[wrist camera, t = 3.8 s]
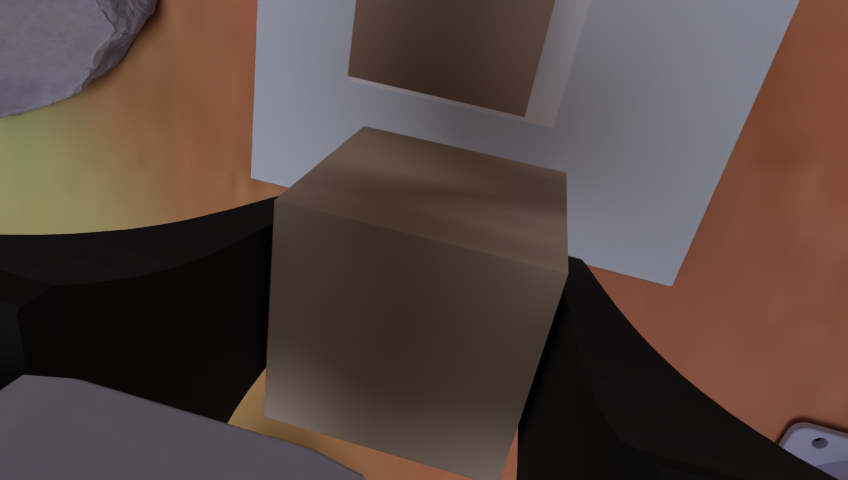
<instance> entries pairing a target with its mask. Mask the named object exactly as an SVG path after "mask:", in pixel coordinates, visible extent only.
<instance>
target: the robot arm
mask: <svg viewBox="0 0 848 480" xmlns="http://www.w3.org/2000/svg"><path fill="white" fill-rule="evenodd" d="M278 197H279V196H276V197H273V198H269V199H266V200H262V201H259V202H255V203H251V204H248V205H244V206H241V207H237V208H234V209H230V210H226V211H222V212H218V213H213V214H209V215H205V216H201V217H197V218H193V219H189V220H184V221H179V222H173V223H168V224H162V225H156V226H149V227H142V228H135V229H127V230H115V231H102V232H90V233H77V234H51V235H0V480H366V479H365V478H364V476H363V475H362V474H360V473H358V472H356V471H354V470H352V469H350V468H348V467H346V466H344V465H342V464H340V463H339V462H337V461H335V460H333V459H331V458H329V457H327V456H325V455H323V454H321V453H319V452H317V451H315V450H313V449H310V448H307V447H303V446H300V445H297V444H293V443H290V442H287V441H283V440H280V439H277V438H273V437H270V436H267V435H263V434H260V433H257V432H253V431H250V430H247V429H243V428H240V427H237V426H233V425H230V424H227V423H228V421H229V419H230V418H231V416H232V414H233V413H234V411H235V409H236V408H237V406H238V405H239V403H240V402H241V400H242V399H243V398H244V396H245V395H246V393H247V392H248V390H249V389H250V388H251V386H252V385H253V384H254V382H255V381H256V380H257V378H258V377H259V376H260V374H261V373H262V372H263V371H264V369H265V368H266V361H267V341H268V321H269V301H270V281H271V261H272V241H273V221H274V201H275V199H276V198H278ZM816 438H822V439H821V440H818V441H813V440H814V439H816ZM517 480H848V434H847V433H843V432H840V431H836V430H832V429H829V428H825V427H822V426H818V425H814V424H811V423H805V422H801V423H796V424H794V425H792V426H791V427H790V428H789V429H788V430H787V432H786V433H785V435H784V437H783V438H782V440H781V441H780V443H779V444H778V445H777V444H776V443H774V442H773V441H771V440H770V439H768V438H766V437H765V436H763V435H762V434H760V433H759V432H757V431H755V430H754V429H752V428H751V427H749V426H748V425H747V424H745V423H744V422H742V421H741V420H739V419H738V418H736V417H735V416H733V415H732V414H731V413H729V412H728V411H727V410H725V409H724V408H723V407H721V406H720V405H719V404H717V403H716V402H715V401H713V400H712V399H711V398H710V397H708V396H707V395H706V394H704V393H703V392H702V391H700V390H699V389H698V388H697V387H695V386H694V385H693V384H692V383H691V382H689V381H688V380H687V379H686V378H685V377H683V376H682V375H681V374H680V373H679V372H678V371H677V370H676V369H675V368H674V367H673V366H671V365H670V364H669V363H668V362H667V361H666V360H665V359H664V358H663V357H662V356H661V355H660V354H659V353H658V352H657V351H656V350H655V349H654V348H653V347H652V346H651V345H650V344H649V343H648V342H647V341H646V340H645V339H644V338H643V337H642V336H641V334H640V333H639V332H638V331H637V330H636V329H635V328H634V327H633V326H632V324H631V323H630V322H629V321H628V320H627V319H626V317H625V316H624V315H623V314H622V312H621V311H620V310H619V309H618V307H617V306H616V305H615V304H614V302H613V301H612V300H611V298H610V297H609V296H608V294H607V293H606V292H605V290H604V289H603V288H602V286H601V285H600V283H599V282H598V281H597V279H596V278H595V276H594V275H593V274H592V272H591V271H590V269H589V268H588V267H587V265H586V264H585V263H584V261H583V260H582V259H579V258H575V257H571V256H568V276H567V279H566V282H565V285H564V288H563V291H562V294H561V297H560V300H559V303H558V306H557V309H556V312H555V315H554V318H553V321H552V324H551V327H550V330H549V333H548V337H547V340H546V343H545V346H544V349H543V352H542V355H541V358H540V361H539V364H538V367H537V370H536V373H535V376H534V379H533V382H532V385H531V388H530V391H529V394H528V397H527V400H526V403H525V406H524V409H523V412H522V415H521V418H520V421H519V424H518V458H517Z"/></svg>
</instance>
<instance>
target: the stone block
mask: <svg viewBox="0 0 848 480" xmlns="http://www.w3.org/2000/svg"><path fill="white" fill-rule="evenodd" d="M157 1H158V0H0V118H1V117H5V116H9V115H21V114H23V113H24V112H26V111H31V110H35V109H39V108H41V107H44V106H48V105H51V104H53V103H55V102H57V101H60V100H64V99H66V98H69V97H71V96H74V95H76V94H78V93H80V92H81V91H82V90H84V89H85V88H86V87H87V86H88V84H89V83H90V82H91V81H92V80H93V79H95V78H98V77H100V76H102V75H103V74H104V73H105V72H106V71H108V70H109V69H111V68H113V67H115V66H116V65H117V64H119V63H120V61H121V59H122V58H123V57H124V55H125V53H126V51H127V50H128V48H129V46H130V44H131V43H132V41H133V40H134V38H135V37H136V36H137V34H138V33H139V32H140V31H141V29H142V28H143V25H144V24H145V22H146V20H147V19H148V18H149V16H150V15H152V14H153V13H154V11H155V7H156V3H157Z"/></svg>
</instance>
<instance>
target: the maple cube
mask: <svg viewBox="0 0 848 480" xmlns="http://www.w3.org/2000/svg"><path fill="white" fill-rule="evenodd" d="M567 276H568V232H567V183H566V172H562V171H558V170H553V169H549V168H545V167H540V166H536V165H532V164H527V163H523V162H519V161H514V160H510V159H506V158H501V157H497V156H493V155H488V154H484V153H480V152H475V151H471V150H467V149H462V148H458V147H454V146H449V145H445V144H441V143H436V142H432V141H428V140H423V139H419V138H415V137H410V136H406V135H402V134H397V133H393V132H389V131H384V130H380V129H376V128H371V127H367V126H363V127H362V128H361V129H360V130H358V131H357V132H356V133H355V134H354V135H352V136H351V137H350V138H349V139H348V140H346V141H345V142H344V143H343V144H342V145H340V146H339V147H338V148H337V149H336V150H334V151H333V152H332V153H331V154H329V155H328V156H327V157H326V158H325V159H323V160H322V161H321V162H320V163H319V164H317V165H316V166H315V167H314V168H313V169H311V170H310V171H309V172H308V173H307V174H305V175H304V176H303V177H302V178H300V179H299V180H298V181H297V182H296V183H294V184H293V185H292V186H291V187H290V188H288V189H287V190H286V191H285V192H284V193H282V194H281V195H280V196H279V197H278V198H276V199H275V201H274V221H273V241H272V261H271V281H270V301H269V321H268V341H267V361H266V381H265V401H264V417H267V418H270V419H274V420H277V421H281V422H284V423H287V424H291V425H294V426H297V427H301V428H304V429H307V430H311V431H314V432H318V433H321V434H324V435H328V436H331V437H334V438H338V439H341V440H344V441H348V442H351V443H355V444H358V445H361V446H365V447H368V448H371V449H375V450H378V451H381V452H385V453H388V454H392V455H395V456H398V457H402V458H405V459H408V460H412V461H415V462H418V463H422V464H425V465H429V466H432V467H435V468H439V469H442V470H445V471H449V472H452V473H455V474H459V475H462V476H465V477H469V478H472V479H476V480H500V478H501V475H502V472H503V469H504V466H505V463H506V460H507V457H508V454H509V451H510V448H511V445H512V442H513V439H514V436H515V433H516V430H517V427H518V424H519V421H520V418H521V415H522V412H523V409H524V406H525V403H526V400H527V397H528V394H529V391H530V388H531V385H532V382H533V379H534V376H535V373H536V370H537V367H538V364H539V361H540V358H541V355H542V352H543V349H544V346H545V343H546V340H547V337H548V333H549V330H550V327H551V324H552V321H553V318H554V315H555V312H556V309H557V306H558V303H559V300H560V297H561V294H562V291H563V288H564V285H565V282H566V279H567Z"/></svg>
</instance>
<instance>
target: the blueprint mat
mask: <svg viewBox="0 0 848 480" xmlns="http://www.w3.org/2000/svg"><path fill="white" fill-rule="evenodd" d="M799 1H800V0H555V3H554V7H553V11H552V15H551V19H550V22H549V26H548V30H547V34H546V38H545V41H544V45H543V49H542V53H541V57H540V60H539V64H538V68H537V72H536V76H535V79H534V83H533V87H532V91H531V95H530V98H529V102H528V106H527V110H526V114H525V117H522V116H518V115H514V114H509V113H505V112H501V111H496V110H492V109H488V108H484V107H479V106H475V105H471V104H466V103H462V102H458V101H453V100H449V99H445V98H440V97H436V96H432V95H428V94H423V93H419V92H415V91H410V90H406V89H402V88H397V87H393V86H389V85H385V84H380V83H376V82H372V81H367V80H363V79H359V78H354V77H350V76H348V67H349V58H350V50H351V41H352V32H353V23H354V14H355V5H356V0H258V9H257V35H256V60H255V86H254V112H253V137H252V163H251V178H254V179H258V180H261V181H265V182H269V183H273V184H277V185H281V186H285V187H289V188H290V187H291V186H292V185H293V184H294V183H296V182H297V181H298V180H299V179H300V178H302V177H303V176H304V175H305V174H307V173H308V172H309V171H310V170H311V169H313V168H314V167H315V166H316V165H317V164H319V163H320V162H321V161H322V160H323V159H325V158H326V157H327V156H328V155H329V154H331V153H332V152H333V151H334V150H336V149H337V148H338V147H339V146H340V145H342V144H343V143H344V142H345V141H346V140H348V139H349V138H350V137H351V136H352V135H354V134H355V133H356V132H357V131H358V130H360V129H361V128H362V127H363V126H367V127H371V128H376V129H380V130H384V131H389V132H393V133H397V134H402V135H406V136H410V137H415V138H419V139H423V140H428V141H432V142H436V143H441V144H445V145H449V146H454V147H458V148H462V149H467V150H471V151H475V152H480V153H484V154H488V155H493V156H497V157H501V158H506V159H510V160H514V161H519V162H523V163H527V164H532V165H536V166H540V167H545V168H549V169H553V170H558V171H562V172H566V183H567V232H568V256H571V257H575V258H579V259H582V260H583V261H584V263H585V264H586V265H590V266H594V267H598V268H602V269H605V270H609V271H613V272H617V273H621V274H625V275H629V276H633V277H636V278H640V279H644V280H648V281H652V282H656V283H660V284H663V285H667V286H671V287H672V285H673V283H674V281H675V278H676V276H677V274H678V272H679V269H680V267H681V265H682V263H683V260H684V258H685V256H686V254H687V251H688V249H689V247H690V245H691V243H692V240H693V238H694V236H695V234H696V231H697V229H698V227H699V225H700V222H701V220H702V218H703V216H704V213H705V211H706V209H707V207H708V204H709V202H710V200H711V198H712V196H713V193H714V191H715V189H716V187H717V184H718V182H719V180H720V178H721V175H722V173H723V171H724V169H725V166H726V164H727V162H728V160H729V157H730V155H731V153H732V151H733V149H734V146H735V144H736V142H737V140H738V137H739V135H740V133H741V131H742V128H743V126H744V124H745V122H746V119H747V117H748V115H749V113H750V110H751V108H752V106H753V104H754V101H755V99H756V97H757V95H758V93H759V90H760V88H761V86H762V84H763V81H764V79H765V77H766V75H767V72H768V70H769V68H770V66H771V63H772V61H773V59H774V57H775V54H776V52H777V50H778V48H779V46H780V43H781V41H782V39H783V37H784V34H785V32H786V30H787V28H788V25H789V23H790V21H791V19H792V16H793V14H794V12H795V10H796V7H797V5H798V3H799Z"/></svg>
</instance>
